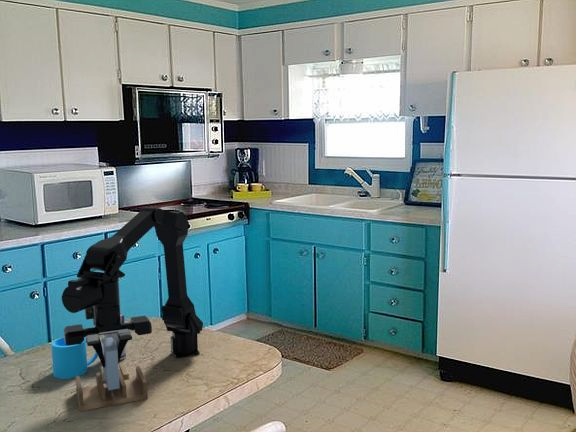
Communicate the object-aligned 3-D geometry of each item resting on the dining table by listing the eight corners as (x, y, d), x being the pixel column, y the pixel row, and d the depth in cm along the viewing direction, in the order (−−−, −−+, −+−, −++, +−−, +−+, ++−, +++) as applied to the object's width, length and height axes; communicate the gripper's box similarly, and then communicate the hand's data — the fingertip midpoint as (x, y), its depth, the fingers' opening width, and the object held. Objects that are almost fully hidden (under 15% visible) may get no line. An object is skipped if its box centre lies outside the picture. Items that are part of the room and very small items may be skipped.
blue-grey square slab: (114, 373, 141) (112, 337, 140) (119, 388, 133) (117, 350, 132) (103, 375, 140) (101, 338, 139) (108, 390, 132) (105, 351, 131)
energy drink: (130, 355, 161) (128, 313, 159) (118, 362, 156) (116, 319, 154) (113, 353, 163) (111, 311, 161) (101, 360, 158) (99, 317, 156)
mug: (60, 381, 145) (58, 349, 144) (48, 371, 151) (46, 341, 150) (107, 368, 153) (105, 337, 152) (93, 359, 159) (91, 330, 158)
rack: (140, 381, 145) (139, 365, 144) (147, 398, 136) (147, 381, 135) (76, 392, 139) (75, 376, 138) (79, 411, 130) (78, 393, 129)
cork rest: (124, 369, 152) (123, 362, 152) (129, 381, 145) (128, 374, 144) (101, 373, 150) (100, 366, 149) (104, 386, 142) (104, 378, 142)
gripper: (142, 286, 145) (145, 347, 147) (60, 296, 137) (65, 360, 140) (150, 298, 135) (153, 363, 137) (63, 309, 127) (68, 378, 130)
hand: (110, 365), depth 136 cm, fingers closed on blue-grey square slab, 2 cm apart
